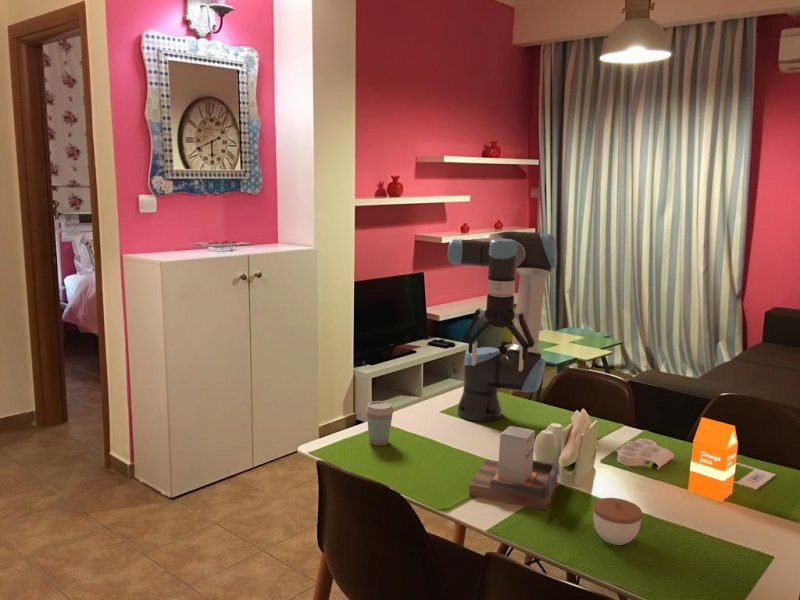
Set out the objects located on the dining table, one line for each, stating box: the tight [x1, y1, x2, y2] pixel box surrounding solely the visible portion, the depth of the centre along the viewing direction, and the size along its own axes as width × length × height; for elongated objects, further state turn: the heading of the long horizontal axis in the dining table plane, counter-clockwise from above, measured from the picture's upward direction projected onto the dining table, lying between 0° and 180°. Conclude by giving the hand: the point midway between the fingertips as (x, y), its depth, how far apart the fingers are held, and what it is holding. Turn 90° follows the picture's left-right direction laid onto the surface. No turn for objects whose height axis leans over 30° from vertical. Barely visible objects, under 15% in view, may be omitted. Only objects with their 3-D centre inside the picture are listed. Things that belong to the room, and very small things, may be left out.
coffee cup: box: [365, 400, 394, 447], centre depth 217 cm, size 8×8×12 cm
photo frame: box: [733, 461, 777, 490], centre depth 203 cm, size 15×1×18 cm
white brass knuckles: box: [614, 438, 675, 470], centre depth 211 cm, size 3×18×15 cm
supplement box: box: [498, 425, 536, 484], centre depth 187 cm, size 7×7×13 cm
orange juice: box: [687, 417, 739, 503], centre depth 188 cm, size 8×9×20 cm
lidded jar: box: [592, 497, 643, 545], centre depth 163 cm, size 11×11×9 cm
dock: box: [468, 458, 559, 511], centre depth 189 cm, size 18×20×5 cm
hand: (497, 367), depth 203 cm, fingers open, 13 cm apart
